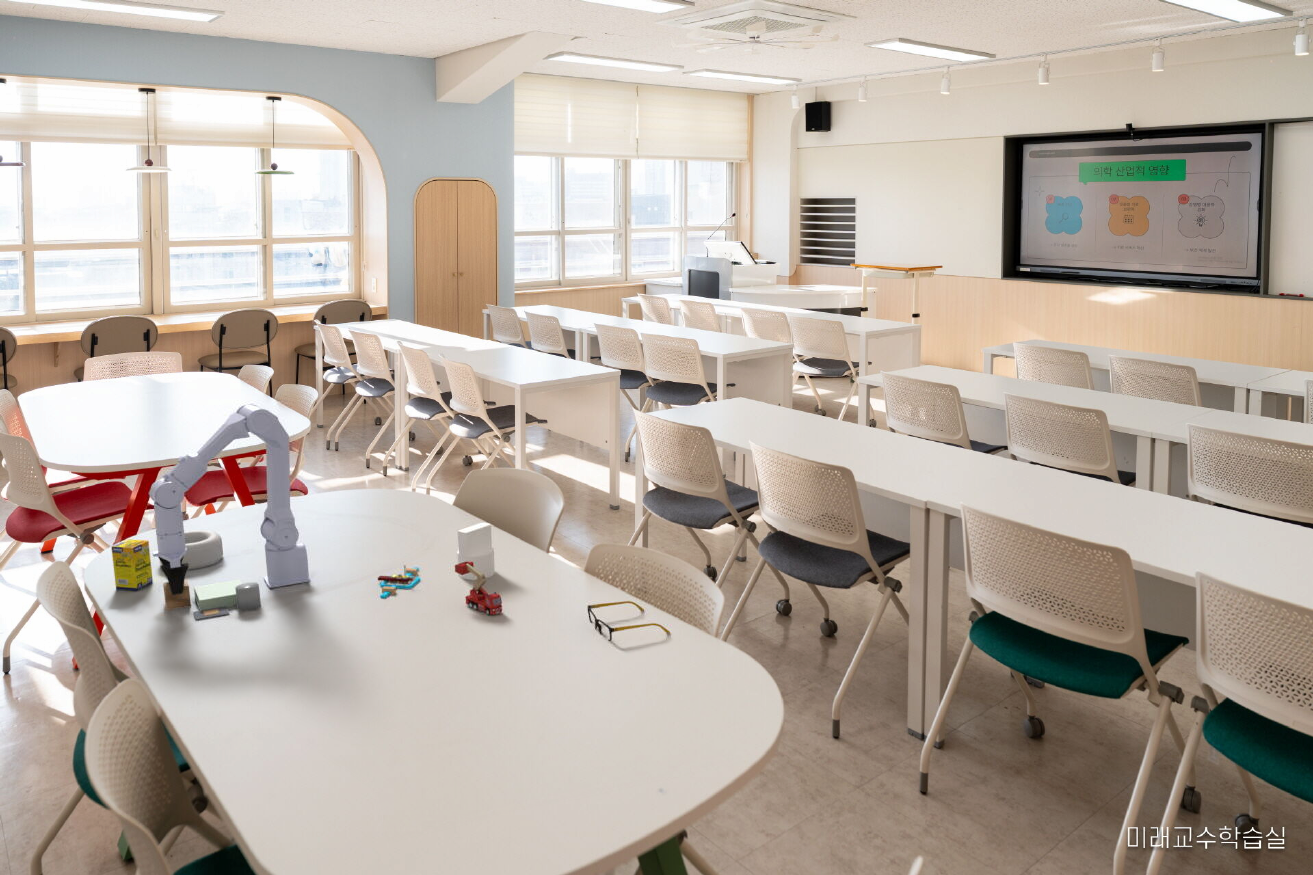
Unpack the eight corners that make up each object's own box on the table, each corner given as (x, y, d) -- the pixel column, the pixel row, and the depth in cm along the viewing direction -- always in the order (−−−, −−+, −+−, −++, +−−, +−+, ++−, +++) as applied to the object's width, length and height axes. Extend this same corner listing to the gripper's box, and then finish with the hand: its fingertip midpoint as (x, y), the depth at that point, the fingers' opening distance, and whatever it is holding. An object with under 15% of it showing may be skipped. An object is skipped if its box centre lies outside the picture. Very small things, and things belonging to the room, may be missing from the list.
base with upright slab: (476, 565, 265) (474, 520, 262) (502, 572, 260) (500, 526, 257) (450, 575, 258) (448, 528, 255) (476, 582, 253) (474, 535, 250)
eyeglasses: (583, 621, 229) (583, 604, 228) (643, 611, 235) (643, 595, 234) (607, 646, 217) (607, 628, 216) (670, 634, 222) (670, 617, 221)
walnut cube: (188, 599, 242) (186, 579, 241) (191, 606, 238) (188, 585, 237) (165, 603, 240) (163, 582, 239) (167, 610, 236) (164, 589, 234)
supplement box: (137, 591, 247) (132, 547, 245) (115, 589, 248) (110, 546, 246) (154, 582, 253) (149, 540, 250) (132, 581, 254) (127, 538, 251)
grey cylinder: (260, 601, 240) (258, 581, 239) (261, 608, 236) (259, 588, 235) (237, 605, 238) (234, 584, 237) (238, 612, 234) (235, 591, 233)
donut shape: (147, 570, 262) (144, 544, 261) (183, 551, 277) (180, 527, 275) (201, 573, 260) (199, 548, 258) (235, 554, 274) (232, 530, 273)
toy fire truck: (492, 617, 231) (491, 576, 229) (455, 601, 240) (454, 562, 238) (504, 613, 233) (503, 572, 231) (467, 598, 242) (465, 558, 240)
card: (226, 607, 237) (226, 605, 237) (229, 614, 233) (229, 612, 233) (193, 612, 234) (193, 611, 234) (195, 620, 229) (195, 618, 229)
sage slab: (240, 591, 248) (239, 579, 248) (247, 604, 240) (246, 592, 239) (195, 598, 243) (193, 586, 243) (200, 612, 235) (199, 600, 234)
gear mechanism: (361, 598, 244) (398, 601, 242) (359, 576, 242) (397, 579, 241) (396, 570, 263) (431, 572, 261) (395, 549, 262) (430, 551, 260)
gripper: (148, 525, 239) (154, 581, 242) (153, 543, 227) (159, 601, 230) (181, 521, 243) (187, 576, 246) (188, 538, 230) (193, 595, 233)
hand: (175, 588), depth 238 cm, fingers open, 7 cm apart
